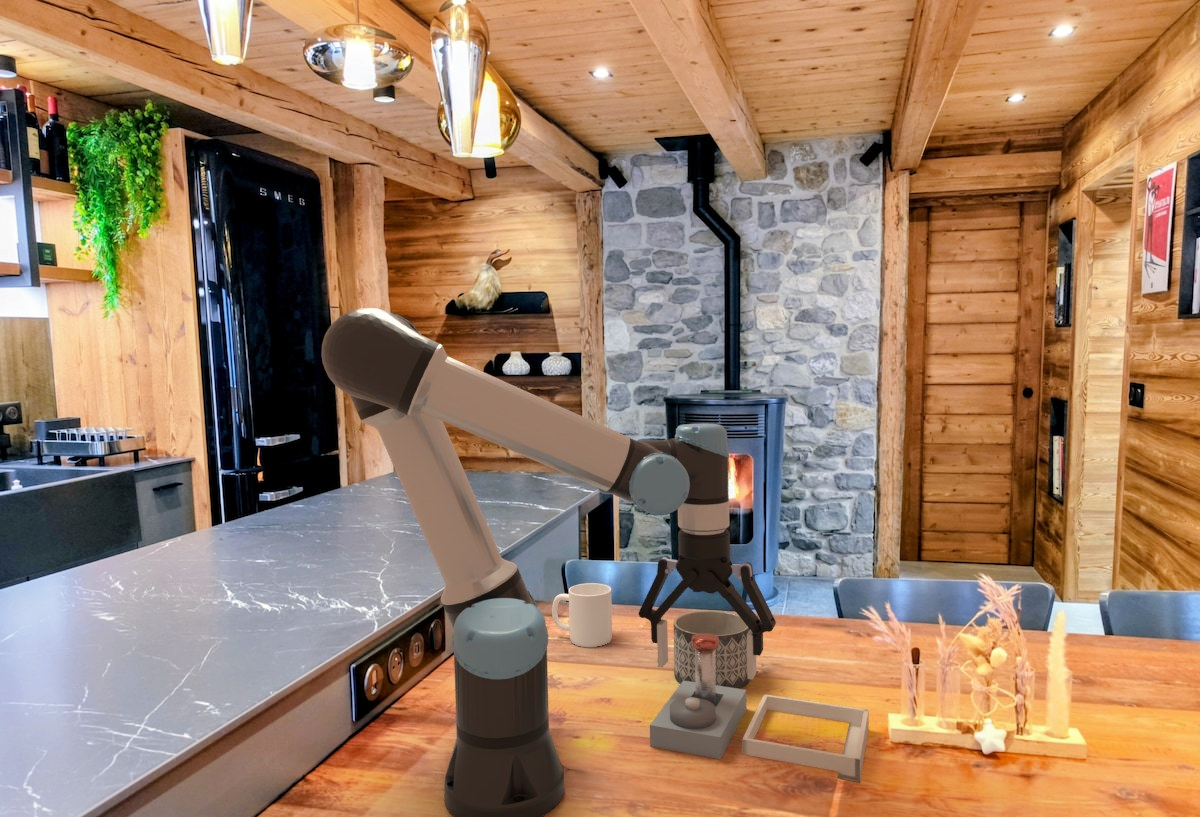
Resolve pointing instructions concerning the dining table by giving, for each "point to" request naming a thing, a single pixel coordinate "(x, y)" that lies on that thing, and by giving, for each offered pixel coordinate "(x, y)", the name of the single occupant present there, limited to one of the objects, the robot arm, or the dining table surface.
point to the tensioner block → (698, 721)
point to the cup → (587, 614)
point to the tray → (844, 763)
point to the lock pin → (705, 665)
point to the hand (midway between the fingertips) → (706, 669)
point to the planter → (726, 655)
